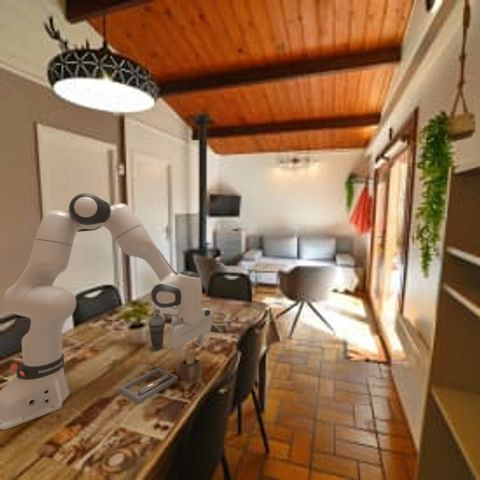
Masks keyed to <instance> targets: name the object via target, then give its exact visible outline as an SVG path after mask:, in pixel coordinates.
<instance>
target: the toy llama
mask: <svg viewBox="0 0 480 480" xmlns="http://www.w3.org/2000/svg"><path fill="white" fill-rule="evenodd" d="M154 305H155V303H154V302H153V301H152V300H151V309H152V310H154ZM155 310H159V315H161V316H162V317H163V318H164V321H165V323H167V321H170V320H171V323H172V322H174V321H177V320H178V306H174V307H168V308H161V307H158V306H157V305H155Z"/></svg>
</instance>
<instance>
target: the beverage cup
mask: <svg viewBox="0 0 480 480" xmlns="http://www.w3.org/2000/svg"><path fill="white" fill-rule="evenodd" d="M153 313H154V315H152V316H151V317H150V319H149V321H148V327H149V334H150V335H149V336H150V341H151V348H152V351H160V350H162V349H163V345H164V344H163V343H164V333H165V330H164V329H165V325H166V322H165V321H164V318H163V317H162V316H161V315H160V314H156V309H155V305H154V309H153Z"/></svg>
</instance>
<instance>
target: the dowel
mask: <svg viewBox="0 0 480 480" xmlns="http://www.w3.org/2000/svg"><path fill="white" fill-rule="evenodd" d="M185 354H186V356H185V357H186V365H188V366H190V367H191V366H192V365H194V364H195V359H196V358H195V355H196V354H195V347H193V346H188V347H186V349H185Z"/></svg>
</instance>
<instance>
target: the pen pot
mask: <svg viewBox="0 0 480 480" xmlns="http://www.w3.org/2000/svg"><path fill="white" fill-rule="evenodd" d="M202 377H203V361H202V360H199V359H198V358H195V364H194V365H192V366H191V367H190V366H188V365H186V359H184V360H181V361H180V362H178V379H180V380H182V381H185V382H186V383H189V384H191V383H193V382H195V381H196V380H198V379H200V378H202Z"/></svg>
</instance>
